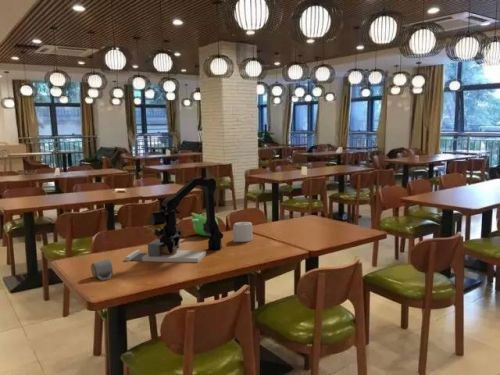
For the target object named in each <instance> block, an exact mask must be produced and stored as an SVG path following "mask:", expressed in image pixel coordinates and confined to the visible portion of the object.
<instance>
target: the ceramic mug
mask: <svg viewBox="0 0 500 375" xmlns="http://www.w3.org/2000/svg"><path fill="white" fill-rule="evenodd" d="M90 270H91V275H92V277H93V278H94V279H99V281H109V280H110V279H111V277H112V275H113V273H114V272H113V271H114V270H113V265H112V262H111V260H110V259H109V258H106V259H102V260H98V261H95V262H93V263H91V265H90Z"/></svg>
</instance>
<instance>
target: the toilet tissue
mask: <svg viewBox="0 0 500 375" xmlns="http://www.w3.org/2000/svg"><path fill="white" fill-rule="evenodd" d="M232 236H233V237H232V241H233V243H237V242H238V243H239V242H241V243H245V242H247V243H248V242H251V241H253V240H254V239H253V223H252V222H250V221H240V222H235V223H234V224H233V225H232ZM252 239H253V240H252Z"/></svg>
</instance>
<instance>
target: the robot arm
mask: <svg viewBox="0 0 500 375" xmlns="http://www.w3.org/2000/svg"><path fill="white" fill-rule="evenodd" d="M197 186H200V187H201V189H202V191H203V193H204V199H205V200H204V202H205V213H206V222H205V223H203V230H204V232H205V234H207V236H206V237H207V238H208V241H207V246H208V248H207V249H208V250H209V251H220V250H221V249H222V248H223V246H222V239H223V238H224V233H222V232H221V231H220V228H219V223H218V224H217V222H216V220H215V217H216V211H215V209H216V207H215V196H214V195H215V192H216V189H217V181H216V179H214V178H212V177H203V178H198V177H192V178H190V180H189V181H187V182H186V183H185V184H184V185H183V186H182V187H181V188H180V189H179V190H177V191H176V192H175V193H173V194H171V195H169V196H167V197H166V198H164V199H163V201H162V203H161V204H162V205H161V206H160V208H159V210H158V211H151V212H150V213H151V214H150V216H149V222H150V224H151V226H160V225H164V224H165V225H164V226H163V227H162V228H156V229H154V232H153V233H154V235H155V236H156V238H159V237H160V238H159V239H160V243H165V244H166V245H167V248H168V250H169V253H170V254H172V251H173V247H174V245H176V246H177V245H178V242H179V243H180V239H181V238H182V237H181V236H183V234H184V232H183V229H178V228H177V227H178V226H179V224H178V222H177V214H180V213H181V212H180V211H179V210H178V209H177V208H178V207H179V205H180V203H181V201H182V200H183V199H184V198H185V197H186V196H187V195H188V194H190V192H192V191H193V190H194V189H195V188H196V187H197ZM163 234H164V236H162V235H163ZM166 235H167V236H166Z"/></svg>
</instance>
